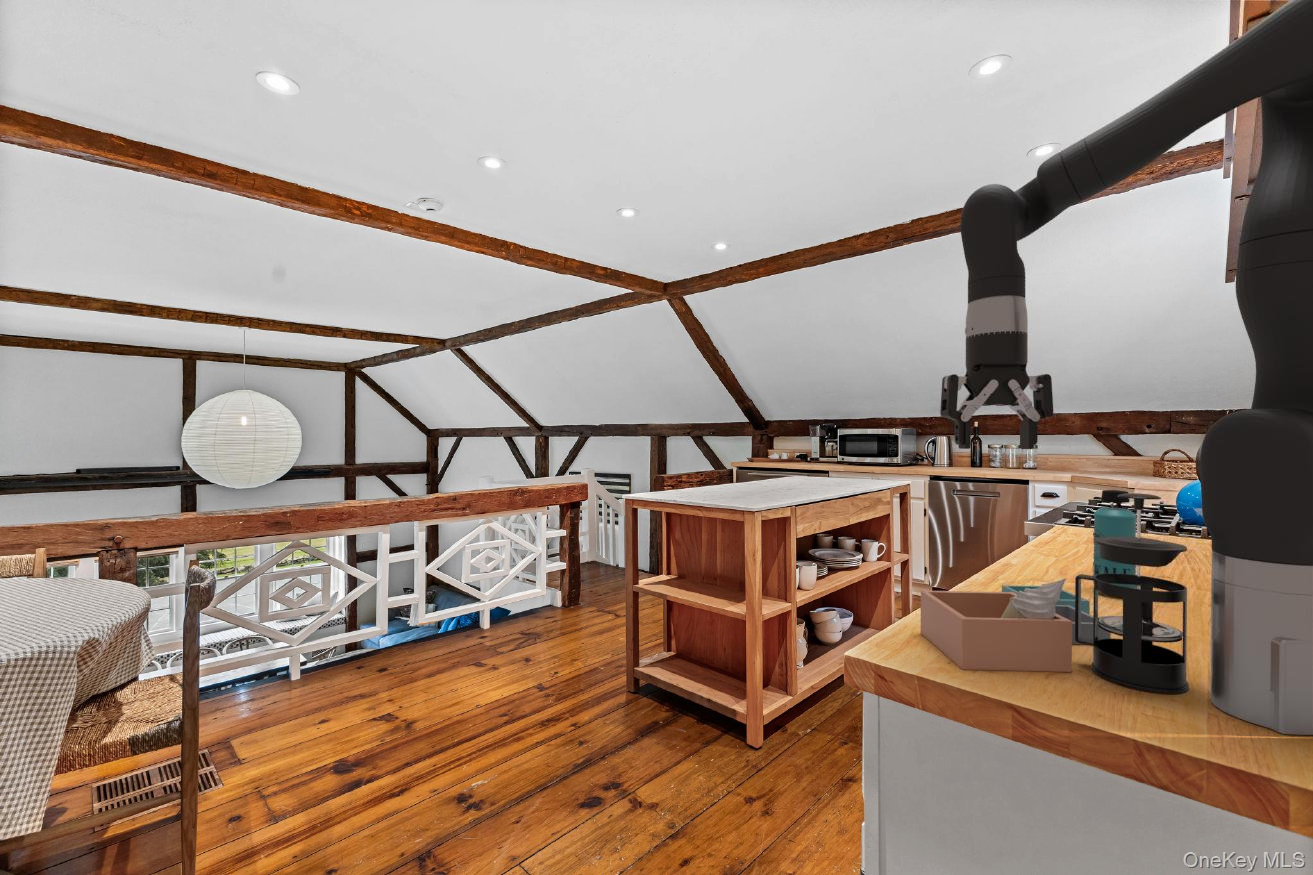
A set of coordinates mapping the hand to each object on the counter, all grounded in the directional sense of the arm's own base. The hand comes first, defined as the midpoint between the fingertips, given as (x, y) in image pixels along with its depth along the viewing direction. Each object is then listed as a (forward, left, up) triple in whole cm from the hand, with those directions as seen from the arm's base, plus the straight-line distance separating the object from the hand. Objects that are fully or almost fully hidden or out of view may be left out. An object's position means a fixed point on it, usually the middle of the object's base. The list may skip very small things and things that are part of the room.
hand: (995, 448), depth 82 cm
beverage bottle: (+29, -36, -29) cm, 54 cm away
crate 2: (+8, -13, -28) cm, 32 cm away
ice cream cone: (0, +1, -28) cm, 28 cm away
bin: (0, +1, -28) cm, 28 cm away
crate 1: (+20, -18, -28) cm, 39 cm away
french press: (-8, -13, -29) cm, 32 cm away
